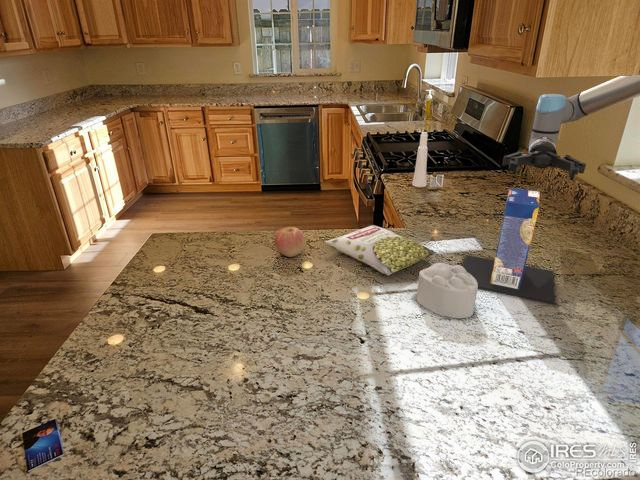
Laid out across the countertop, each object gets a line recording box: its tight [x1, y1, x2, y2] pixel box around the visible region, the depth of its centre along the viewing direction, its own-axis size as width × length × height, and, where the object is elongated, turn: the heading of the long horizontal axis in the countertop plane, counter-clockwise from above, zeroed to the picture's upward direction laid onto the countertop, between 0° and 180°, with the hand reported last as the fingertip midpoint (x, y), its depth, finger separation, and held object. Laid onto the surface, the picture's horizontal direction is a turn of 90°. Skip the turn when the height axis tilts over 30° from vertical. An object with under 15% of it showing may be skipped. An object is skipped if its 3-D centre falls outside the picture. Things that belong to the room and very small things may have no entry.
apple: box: [273, 226, 306, 258], centre depth 122 cm, size 9×9×8 cm
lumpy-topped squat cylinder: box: [416, 262, 479, 319], centre depth 99 cm, size 10×13×9 cm
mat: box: [462, 254, 555, 305], centre depth 111 cm, size 22×16×1 cm
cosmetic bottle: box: [411, 131, 429, 188], centre depth 174 cm, size 6×6×22 cm
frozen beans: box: [324, 224, 438, 276], centre depth 121 cm, size 21×6×25 cm
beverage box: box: [490, 187, 540, 289], centre depth 106 cm, size 7×11×22 cm, turn 155°
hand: (543, 172), depth 110 cm, fingers open, 13 cm apart
